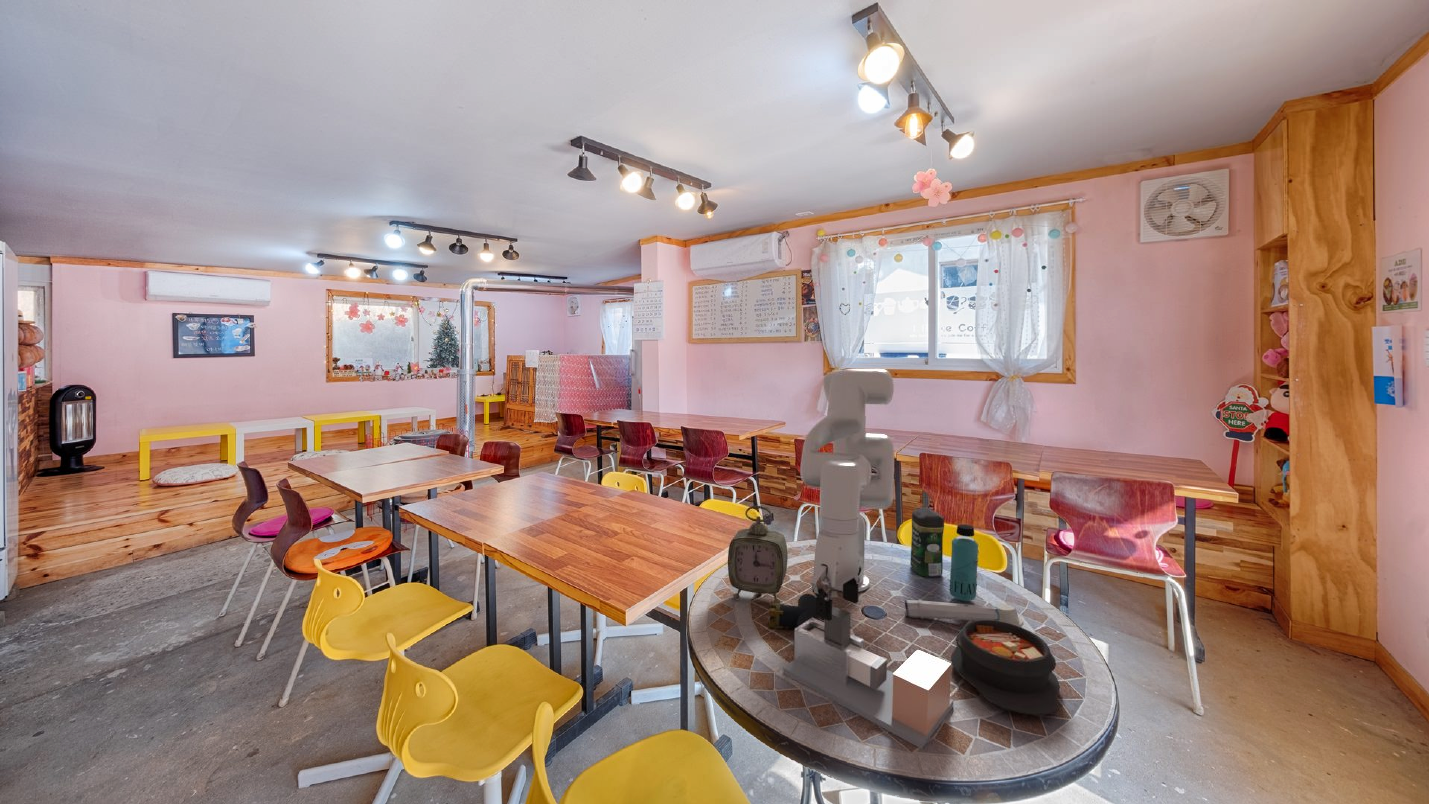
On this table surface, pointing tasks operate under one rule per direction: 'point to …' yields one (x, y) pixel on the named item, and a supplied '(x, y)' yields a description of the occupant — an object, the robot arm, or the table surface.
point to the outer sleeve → (823, 652)
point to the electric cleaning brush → (962, 611)
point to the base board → (862, 700)
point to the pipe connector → (793, 613)
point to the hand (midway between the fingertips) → (837, 609)
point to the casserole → (1007, 666)
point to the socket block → (921, 691)
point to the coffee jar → (927, 542)
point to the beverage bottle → (964, 564)
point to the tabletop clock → (757, 558)
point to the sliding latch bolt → (854, 650)
